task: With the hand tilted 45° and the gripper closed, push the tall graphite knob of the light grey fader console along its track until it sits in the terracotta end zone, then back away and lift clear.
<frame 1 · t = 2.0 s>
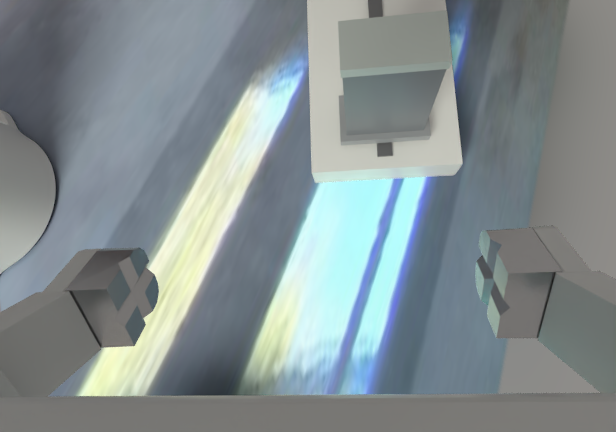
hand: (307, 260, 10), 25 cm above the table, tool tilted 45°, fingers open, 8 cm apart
fader knob: (387, 87, 29), point 9 cm above the table, slide at 0.0 cm
fader console: (375, 46, 39), on the table
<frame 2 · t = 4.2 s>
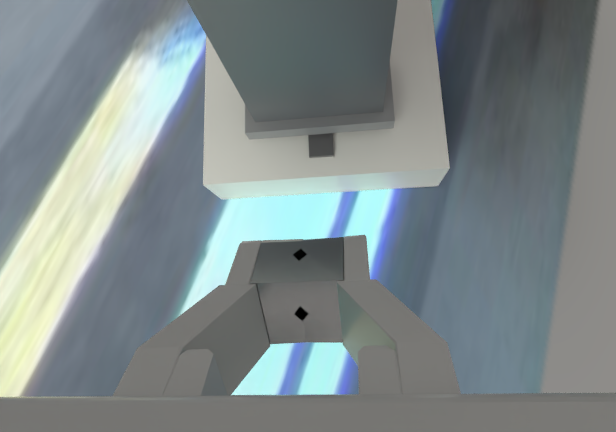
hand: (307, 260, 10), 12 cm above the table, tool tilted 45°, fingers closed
fader knob: (305, 27, 15), point 9 cm above the table, slide at 0.0 cm
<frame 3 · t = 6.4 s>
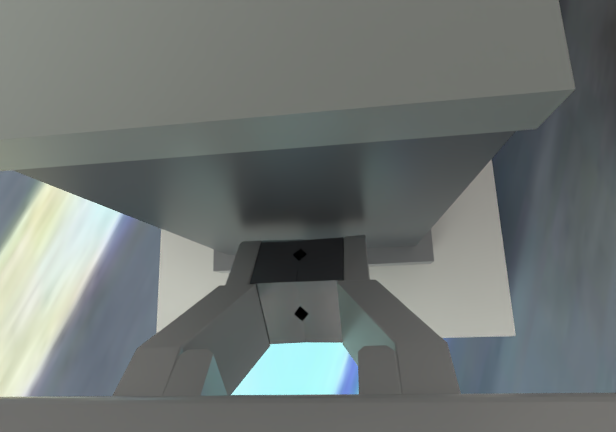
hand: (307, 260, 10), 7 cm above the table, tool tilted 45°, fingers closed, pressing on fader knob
fader knob: (297, 156, 9), point 9 cm above the table, slide at 0.3 cm, touching gripper
fader console: (320, 48, 20), on the table
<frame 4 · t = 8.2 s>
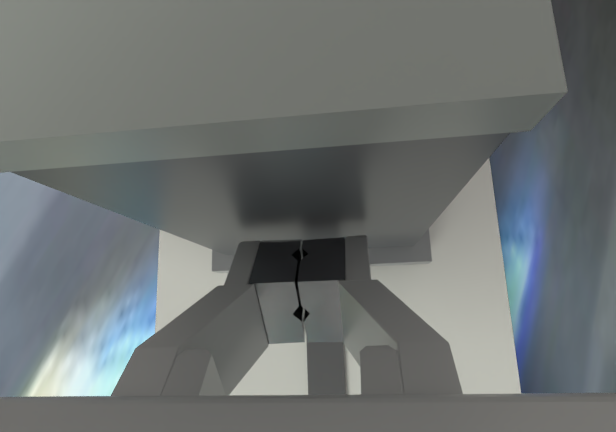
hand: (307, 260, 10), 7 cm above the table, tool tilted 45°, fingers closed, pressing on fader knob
fader knob: (294, 157, 9), point 9 cm above the table, slide at 10.6 cm, touching gripper
fader console: (328, 266, 17), on the table
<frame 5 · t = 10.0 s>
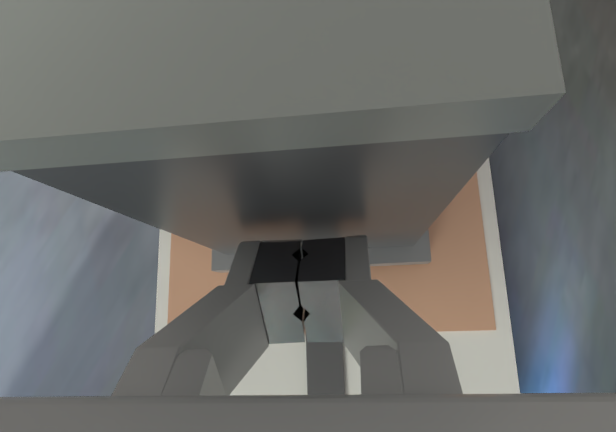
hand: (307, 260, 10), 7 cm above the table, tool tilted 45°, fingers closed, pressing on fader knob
fader knob: (294, 157, 9), point 9 cm above the table, slide at 17.2 cm, touching gripper
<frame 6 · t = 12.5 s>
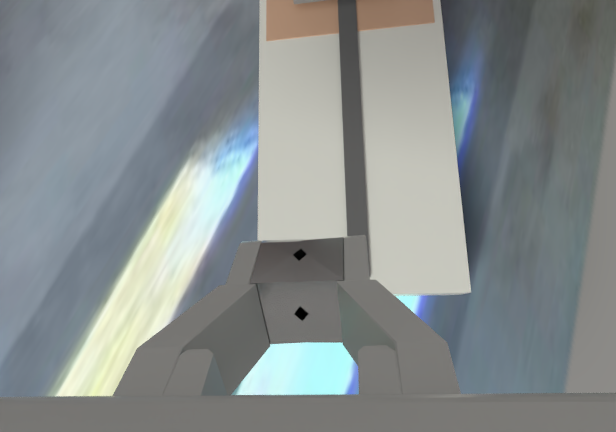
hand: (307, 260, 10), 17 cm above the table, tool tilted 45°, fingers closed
fader console: (352, 109, 29), on the table
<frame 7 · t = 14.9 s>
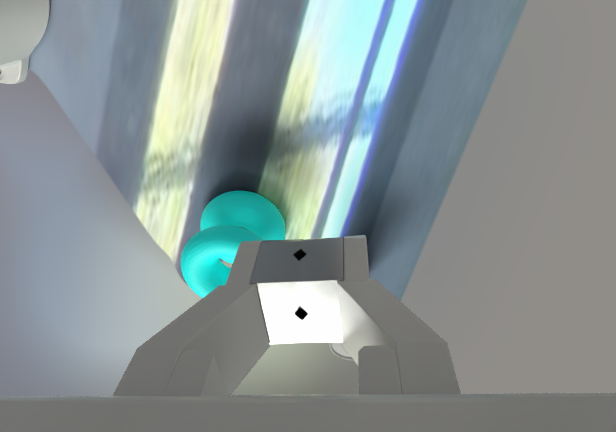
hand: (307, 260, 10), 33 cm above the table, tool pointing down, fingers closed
donuts: (245, 221, 50), on the table
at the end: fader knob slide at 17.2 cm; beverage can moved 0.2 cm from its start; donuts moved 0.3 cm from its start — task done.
